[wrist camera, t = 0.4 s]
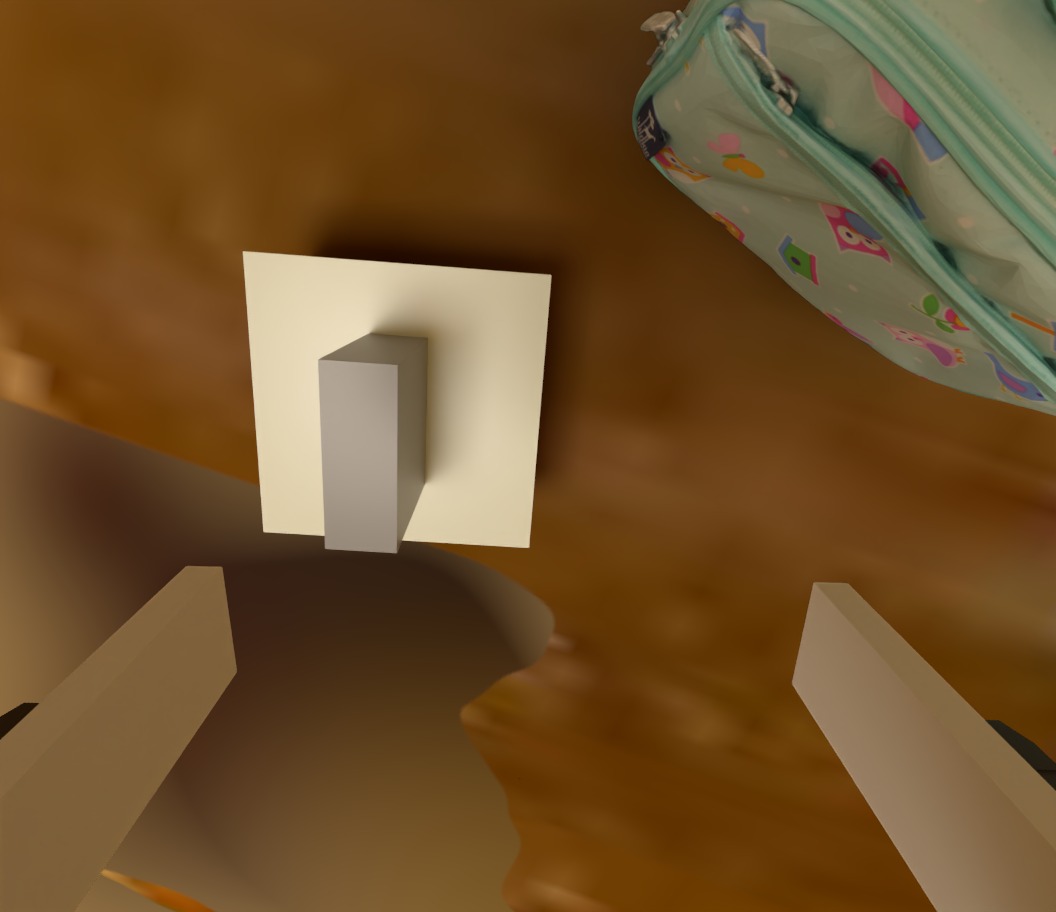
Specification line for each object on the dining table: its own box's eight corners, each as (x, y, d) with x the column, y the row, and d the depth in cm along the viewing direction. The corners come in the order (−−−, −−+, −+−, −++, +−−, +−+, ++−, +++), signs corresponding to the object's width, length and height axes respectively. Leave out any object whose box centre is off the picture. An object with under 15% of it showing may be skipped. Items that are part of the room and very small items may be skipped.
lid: (260, 251, 31) (144, 249, 21) (549, 273, 31) (562, 281, 22) (277, 517, 35) (189, 612, 26) (528, 532, 36) (531, 631, 27)
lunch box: (580, 130, 35) (666, -48, 14) (694, -46, 32) (1000, -569, 12) (900, 389, 40) (1298, 528, 19) (1021, 256, 37) (1626, 257, 17)
